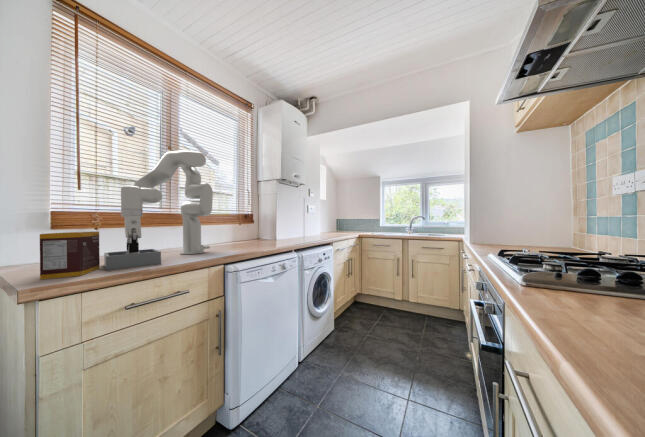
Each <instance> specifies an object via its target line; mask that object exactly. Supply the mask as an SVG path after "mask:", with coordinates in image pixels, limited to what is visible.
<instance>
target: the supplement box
mask: <svg viewBox="0 0 645 437" xmlns="http://www.w3.org/2000/svg"><path fill="white" fill-rule="evenodd" d="M100 260H101V259H100V231H99V230H98V231H69V232H68V231H66V232H49V233H39V280H48V279H49V280H50V279H60V278H71V277H81V276H85V275H87V274H89V273H92V272H94V271H97V270H99V269H100V263H101V262H100Z"/></svg>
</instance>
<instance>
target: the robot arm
mask: <svg viewBox="0 0 645 437" xmlns="http://www.w3.org/2000/svg"><path fill="white" fill-rule="evenodd" d="M206 163H207V158H206V156H205V155H204V153H202V152H201V151H193V150H173V151H167V152H166V153H164V154H163V156H161V158H160V160H159V161H158V162H157V164H155V167H153V169H152V170H151V171H149V172H148V173H146V174H145V175H143V176H141V177H140V178H139V179H138V180H136V181H135V183H134V184H133V185H124V186H121V188H120V217H121V218H124V234H125V238H126V251H127V250H128V246H129V252H130V253H134V252H139V250H140V247H139V244H140V243H139V239H141V238H142V222H141V221H142V220H141V218H142V217H144V215H143V210H144V209H143V208H144V207H143V205H147V204H149V205H150V204H157V203H160V201H162V199H163V194H162V192H161V191H160V190H159V189H157V188H155V187H158V186H159V185H162V184H164V183H167V182H169V181H170V180H171V179H172V178H173V176H174V174H175V173H176V171H177V169H179V168H180V169H182V171H183V173H184V177H185V178H184V180H185V181H184V195H185V197H186V198H188V199H190V200H188V201H187V200H186V201H183V203H182V204H181V206H180V213H181V217H182V248H183V249H182V251H180V252H179V253H180V255H196V254H203V253H205V250H209V249H210V248H211V247H210V246H211V245H204V244H202V223H201V220H200V218H199V217H208V216H210V215H211V213H212V211H213V198H214V195H213V194H214V192H213V191H214V190H213V188H212V186H211V185H210V183H207V182H202V175H201V173H200V171H199V169H197V168H200V167H201V168H202V167H203V166H205V165H206ZM191 199H192V200H191ZM197 199H198V200H197ZM128 240H130V243H129V242H128Z"/></svg>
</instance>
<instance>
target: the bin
mask: <svg viewBox="0 0 645 437" xmlns="http://www.w3.org/2000/svg"><path fill="white" fill-rule="evenodd" d="M126 252H127V250H124V251H123V250H122V251H120V250H119V251H109V252H104V253H103V256H104V257H103V260H104V261H103V262H104V264H103V265H104V268H105V271H111V270H120V269H121V270H122V269H128V268H135V267H145V266H146V267H147V266H153V265H162V251H160V250H158V249H154V248H149V249H148V248H146V249H145V248H144V249H139V252H140V253H137V254H126Z"/></svg>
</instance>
